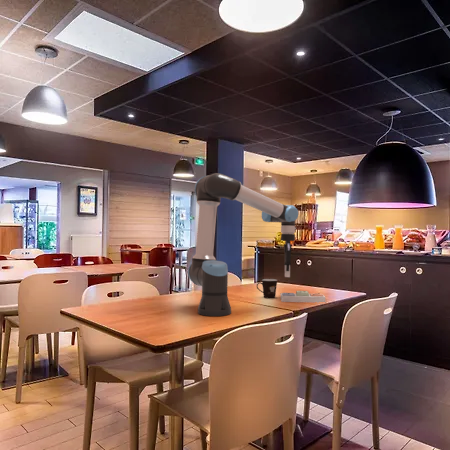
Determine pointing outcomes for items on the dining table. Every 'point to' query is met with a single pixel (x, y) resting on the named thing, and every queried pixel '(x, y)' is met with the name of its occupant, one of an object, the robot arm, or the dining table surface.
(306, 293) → the tile two
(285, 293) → the tile one
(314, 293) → the tile three
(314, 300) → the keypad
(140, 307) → the dining table surface
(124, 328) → the dining table surface
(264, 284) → the coffee mug
